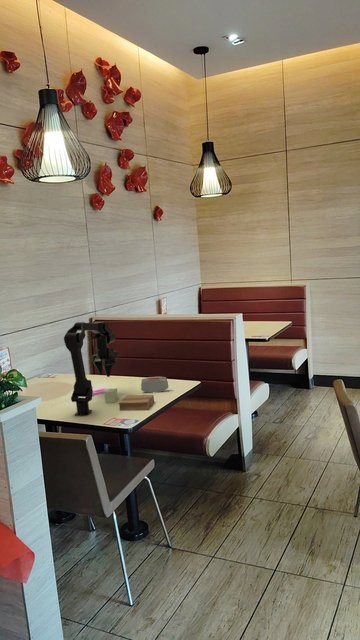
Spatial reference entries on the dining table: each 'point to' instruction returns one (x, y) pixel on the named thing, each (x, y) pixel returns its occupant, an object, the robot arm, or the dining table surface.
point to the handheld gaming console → (154, 384)
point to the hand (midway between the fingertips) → (104, 375)
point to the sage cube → (111, 395)
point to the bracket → (98, 391)
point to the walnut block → (136, 402)
